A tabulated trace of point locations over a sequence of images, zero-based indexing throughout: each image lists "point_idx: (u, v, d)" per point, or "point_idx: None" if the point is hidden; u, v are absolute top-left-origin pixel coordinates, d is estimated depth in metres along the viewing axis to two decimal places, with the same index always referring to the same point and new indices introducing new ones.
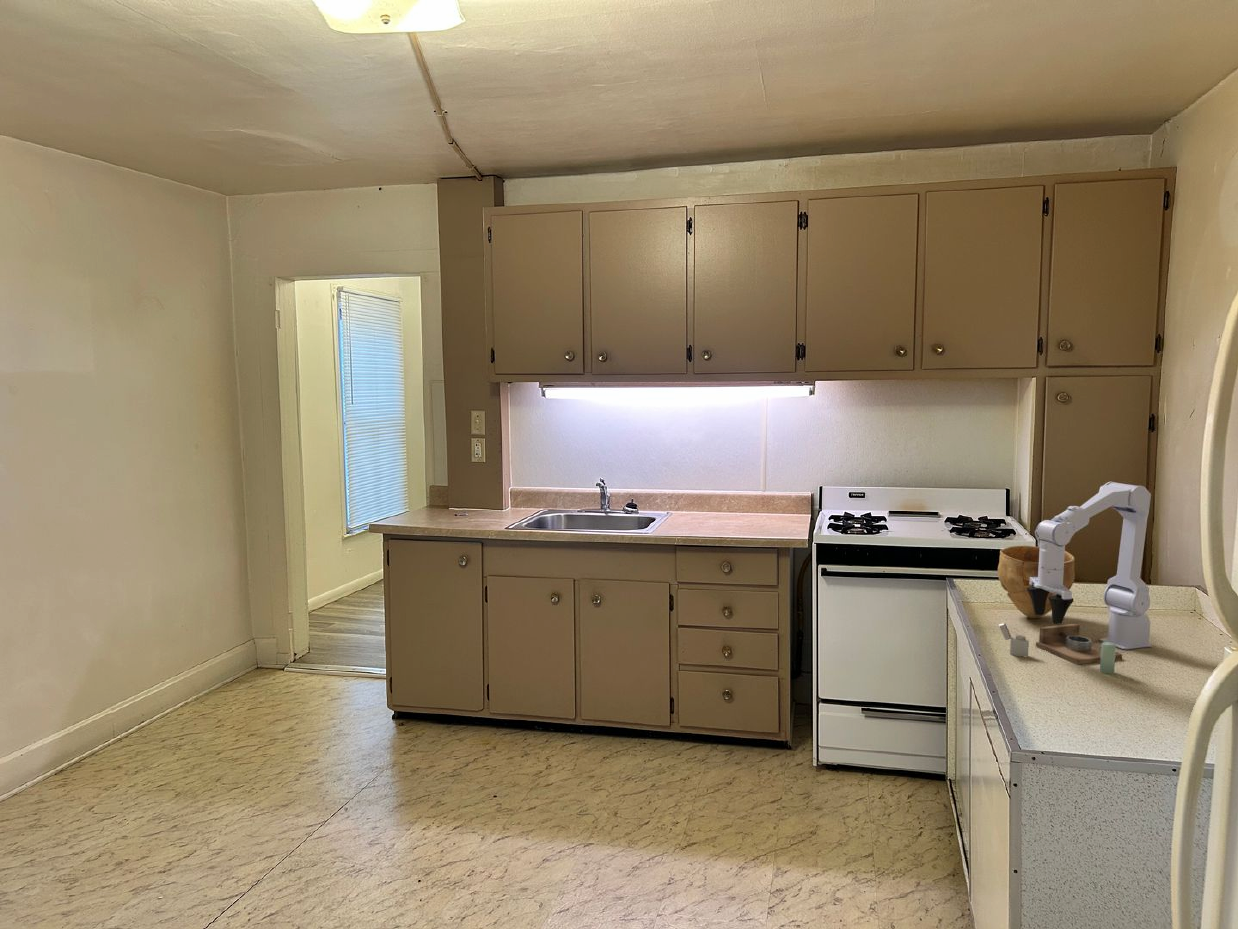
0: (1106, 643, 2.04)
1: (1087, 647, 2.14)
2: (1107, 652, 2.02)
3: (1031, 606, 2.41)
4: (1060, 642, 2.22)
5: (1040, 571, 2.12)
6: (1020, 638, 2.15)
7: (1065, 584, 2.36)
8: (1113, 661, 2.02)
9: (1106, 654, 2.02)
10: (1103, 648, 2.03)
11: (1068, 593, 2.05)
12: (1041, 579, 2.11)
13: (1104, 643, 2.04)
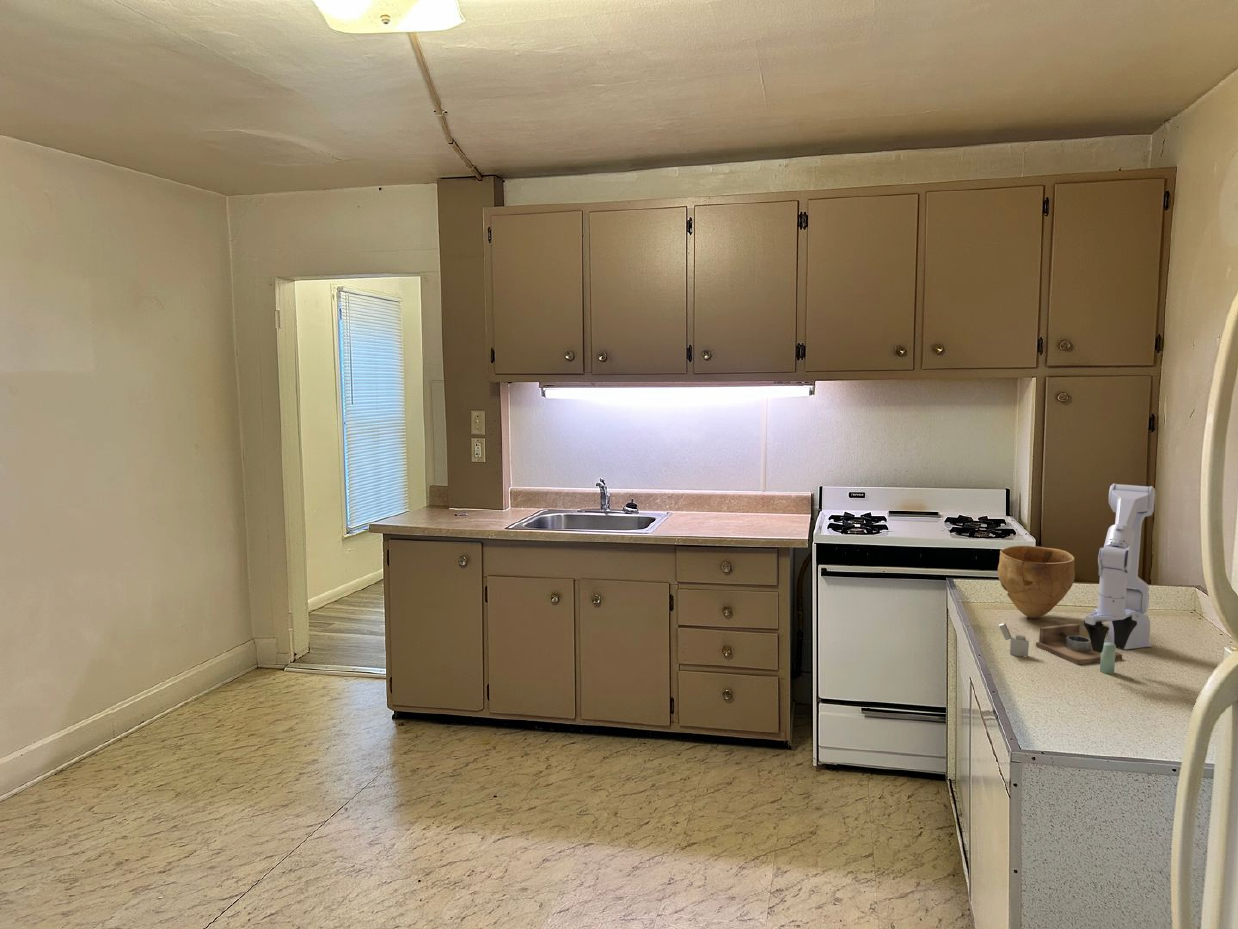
0: (1106, 643, 2.03)
1: (1087, 647, 2.14)
2: (1107, 652, 2.02)
3: (1031, 606, 2.41)
4: (1060, 642, 2.22)
5: None
6: (1020, 638, 2.15)
7: (1065, 584, 2.36)
8: (1113, 661, 2.02)
9: (1106, 654, 2.02)
10: (1103, 648, 2.03)
11: (1089, 618, 1.99)
12: None
13: (1104, 643, 2.03)
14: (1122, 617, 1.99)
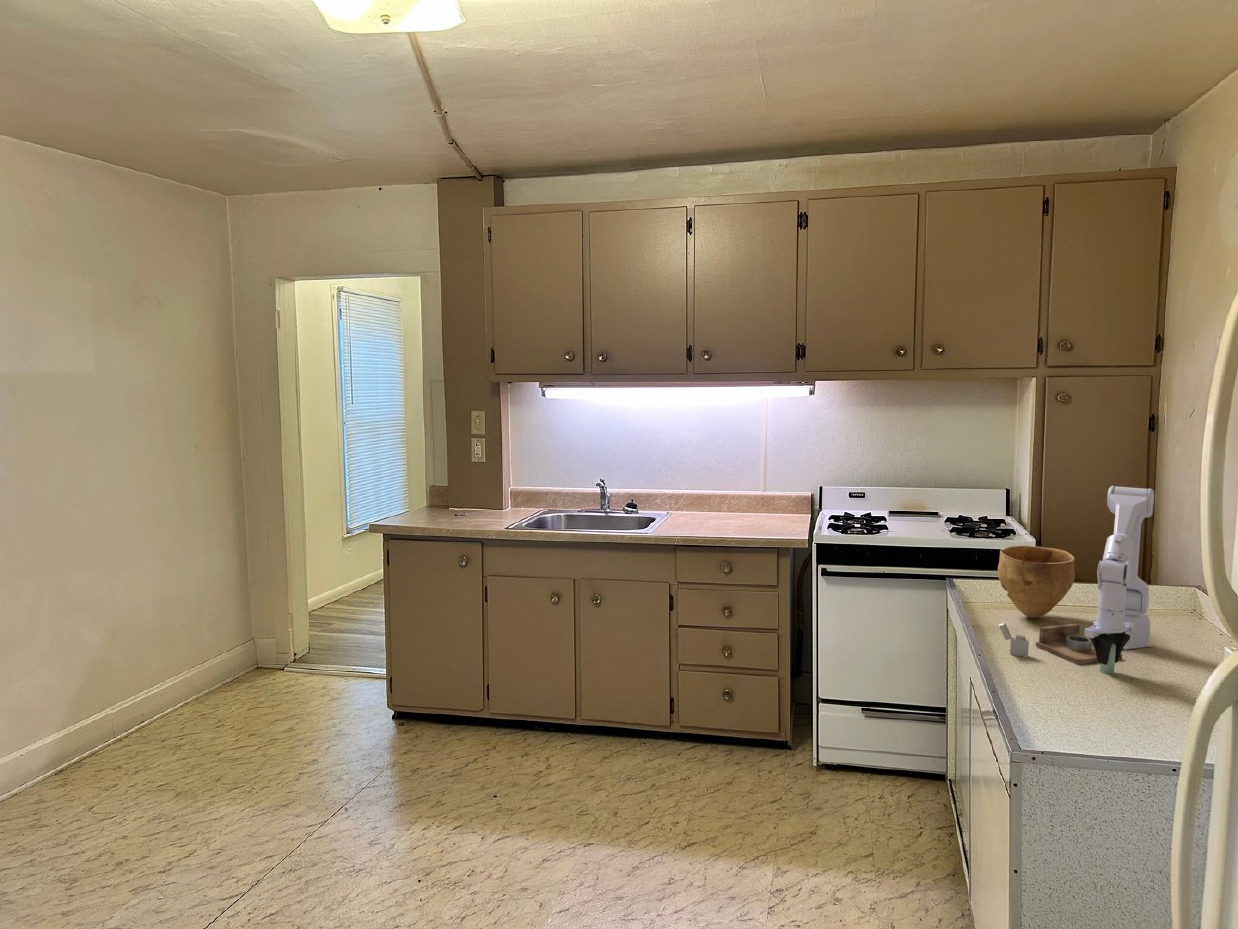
0: None
1: (1087, 647, 2.14)
2: None
3: (1031, 606, 2.41)
4: (1060, 642, 2.22)
5: None
6: (1020, 638, 2.15)
7: (1065, 584, 2.36)
8: (1113, 661, 2.02)
9: None
10: None
11: (1088, 631, 2.00)
12: None
13: None
14: (1121, 630, 2.00)
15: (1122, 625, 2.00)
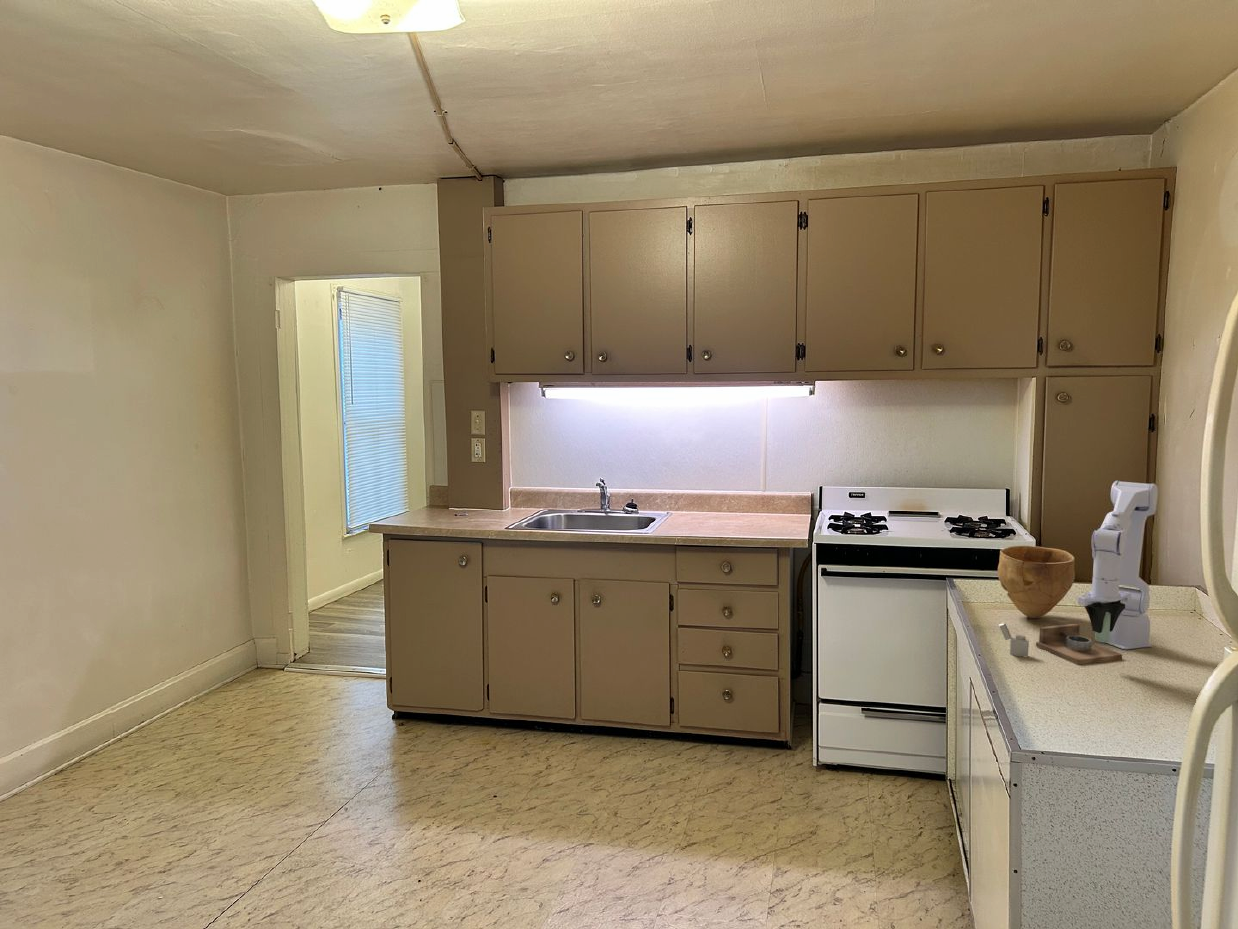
0: None
1: (1087, 647, 2.14)
2: None
3: (1031, 606, 2.41)
4: (1060, 642, 2.22)
5: None
6: (1020, 638, 2.15)
7: (1065, 584, 2.36)
8: (1107, 630, 2.04)
9: None
10: None
11: (1081, 599, 2.03)
12: None
13: None
14: (1115, 599, 2.02)
15: (1116, 594, 2.02)
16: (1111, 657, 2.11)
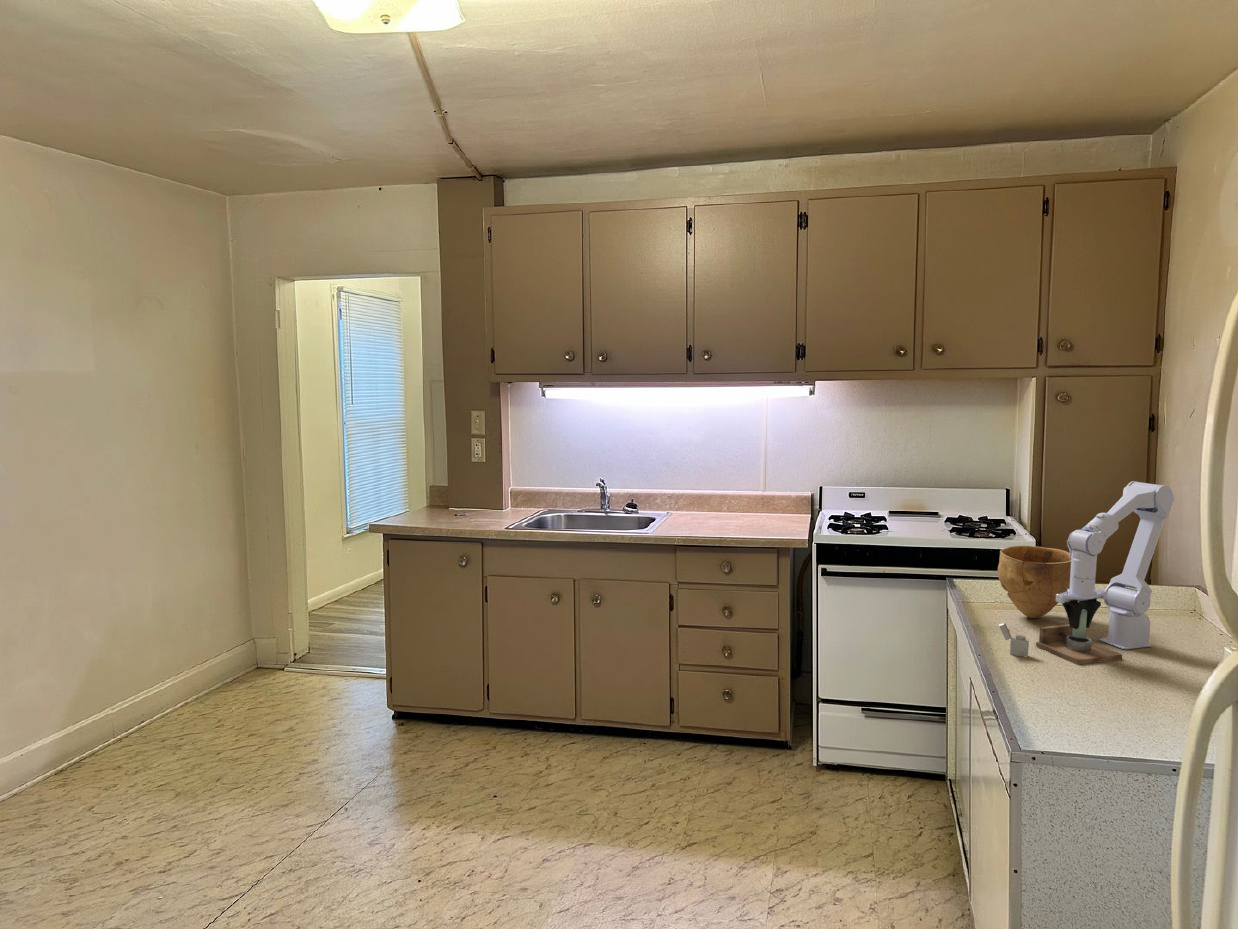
0: None
1: (1087, 647, 2.14)
2: None
3: (1031, 606, 2.41)
4: (1060, 642, 2.22)
5: None
6: (1020, 638, 2.15)
7: (1065, 584, 2.36)
8: (1084, 626, 2.15)
9: None
10: None
11: (1059, 596, 2.13)
12: None
13: None
14: (1091, 597, 2.12)
15: (1092, 592, 2.13)
16: (1111, 657, 2.11)
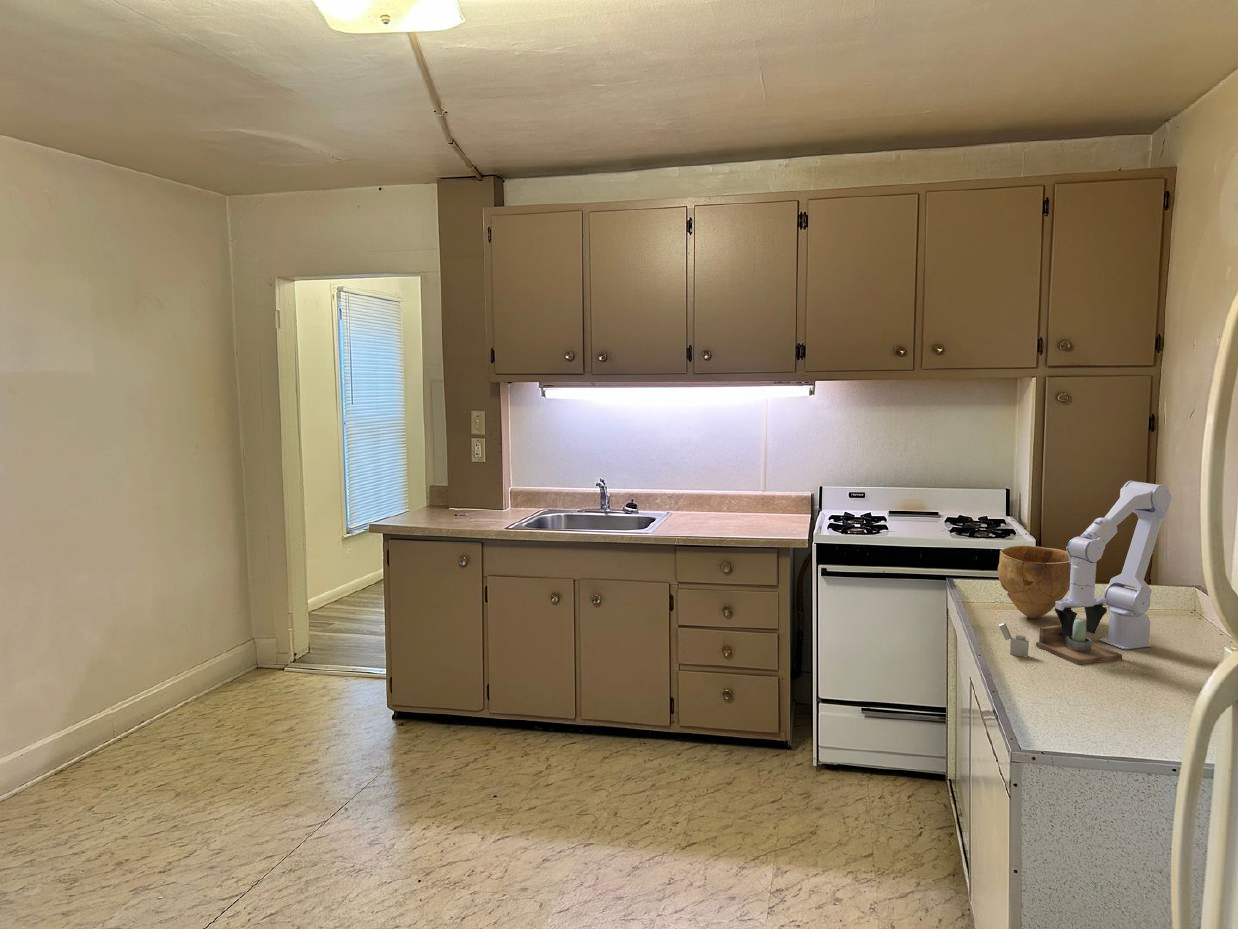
0: (1078, 620, 2.17)
1: (1087, 647, 2.14)
2: (1077, 628, 2.15)
3: (1031, 606, 2.41)
4: (1060, 642, 2.22)
5: None
6: (1020, 638, 2.15)
7: (1065, 584, 2.36)
8: (1083, 636, 2.15)
9: (1077, 630, 2.15)
10: (1074, 624, 2.16)
11: (1058, 603, 2.13)
12: None
13: (1076, 620, 2.17)
14: (1090, 604, 2.13)
15: (1091, 599, 2.13)
16: (1111, 657, 2.11)
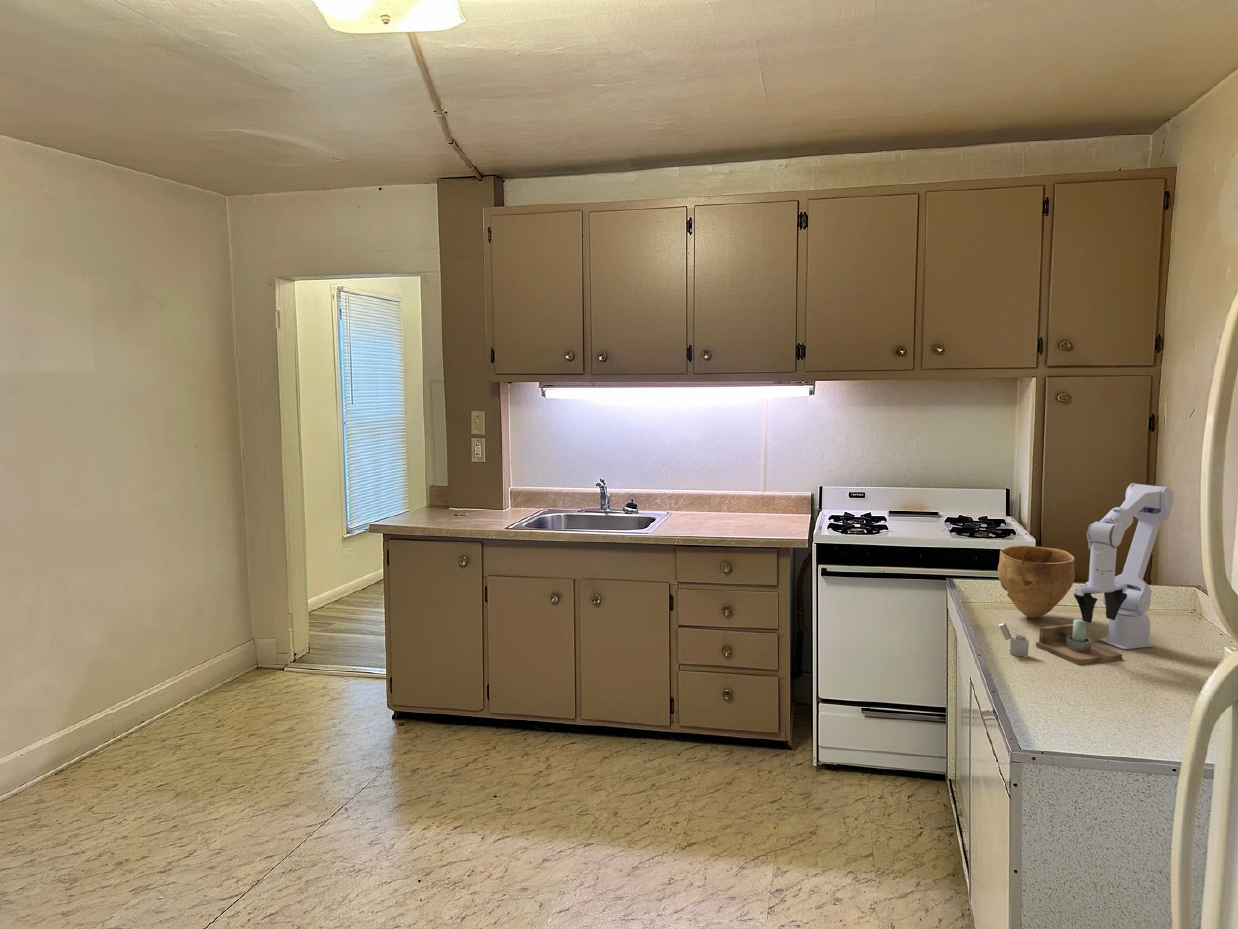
0: (1078, 620, 2.17)
1: (1087, 647, 2.14)
2: (1077, 628, 2.15)
3: (1031, 606, 2.41)
4: (1060, 642, 2.22)
5: None
6: (1020, 638, 2.15)
7: (1065, 584, 2.36)
8: (1083, 636, 2.15)
9: (1077, 630, 2.15)
10: (1074, 624, 2.16)
11: (1078, 589, 2.11)
12: None
13: (1076, 620, 2.17)
14: (1111, 589, 2.10)
15: (1112, 584, 2.10)
16: (1111, 657, 2.11)
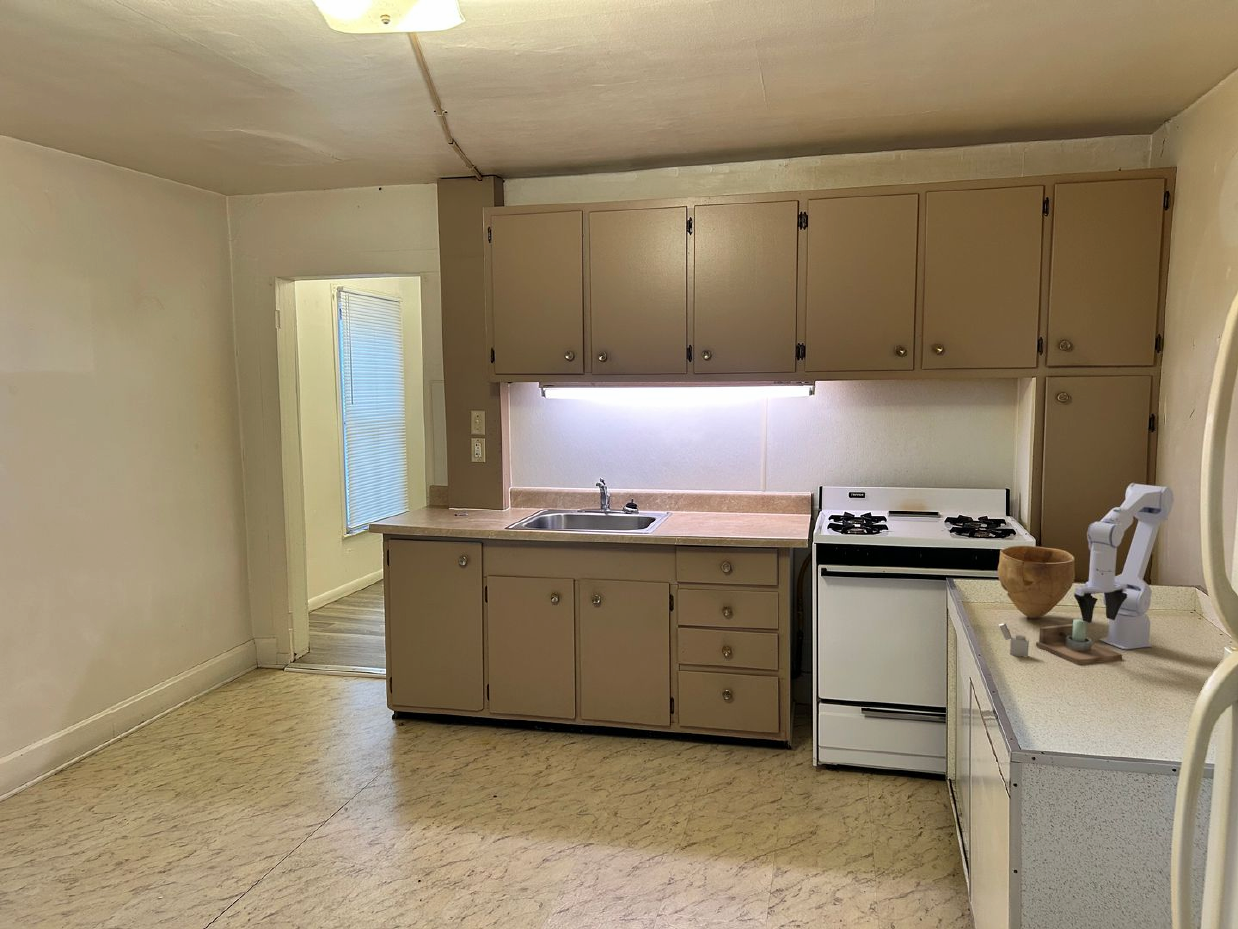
0: (1078, 620, 2.17)
1: (1087, 647, 2.14)
2: (1077, 628, 2.15)
3: (1031, 606, 2.41)
4: (1060, 642, 2.22)
5: None
6: (1020, 638, 2.15)
7: (1065, 584, 2.36)
8: (1083, 636, 2.15)
9: (1077, 629, 2.15)
10: (1074, 624, 2.16)
11: (1078, 589, 2.11)
12: None
13: (1076, 620, 2.17)
14: (1111, 589, 2.10)
15: (1112, 584, 2.10)
16: (1111, 657, 2.11)
